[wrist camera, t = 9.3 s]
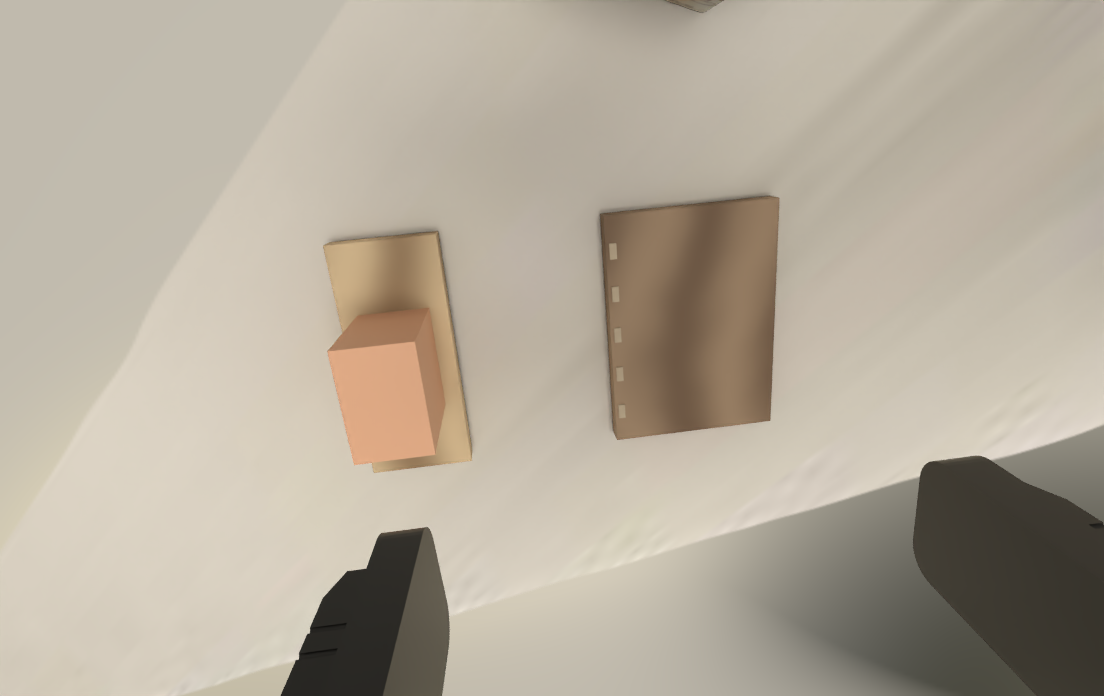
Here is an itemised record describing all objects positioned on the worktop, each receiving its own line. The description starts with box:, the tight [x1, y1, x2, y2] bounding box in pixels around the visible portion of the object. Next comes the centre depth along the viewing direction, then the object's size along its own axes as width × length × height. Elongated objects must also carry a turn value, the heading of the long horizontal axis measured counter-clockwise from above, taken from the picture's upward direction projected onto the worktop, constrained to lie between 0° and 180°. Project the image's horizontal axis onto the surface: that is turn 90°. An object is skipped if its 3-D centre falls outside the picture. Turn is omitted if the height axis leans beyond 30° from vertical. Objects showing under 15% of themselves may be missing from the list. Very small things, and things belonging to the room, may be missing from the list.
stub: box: [323, 231, 472, 473], centre depth 31 cm, size 6×14×7 cm, turn 5°
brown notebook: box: [600, 196, 779, 440], centre depth 35 cm, size 10×14×1 cm
